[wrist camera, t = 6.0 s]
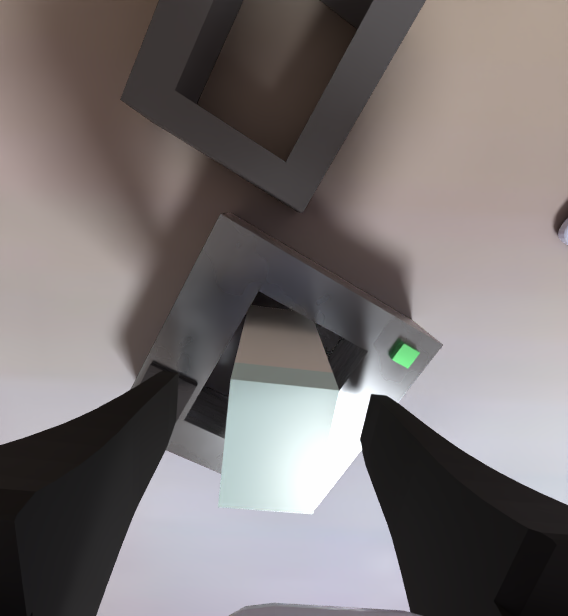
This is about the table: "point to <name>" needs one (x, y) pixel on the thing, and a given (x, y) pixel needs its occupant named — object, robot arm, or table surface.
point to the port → (301, 298)
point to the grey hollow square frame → (228, 141)
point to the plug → (277, 414)
